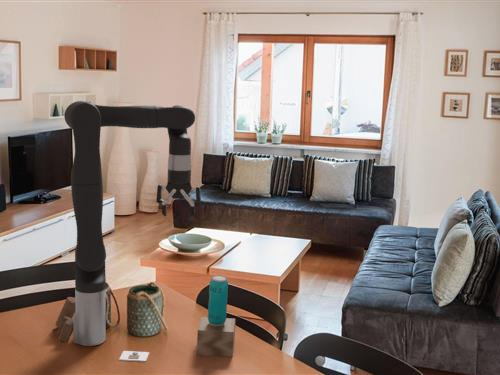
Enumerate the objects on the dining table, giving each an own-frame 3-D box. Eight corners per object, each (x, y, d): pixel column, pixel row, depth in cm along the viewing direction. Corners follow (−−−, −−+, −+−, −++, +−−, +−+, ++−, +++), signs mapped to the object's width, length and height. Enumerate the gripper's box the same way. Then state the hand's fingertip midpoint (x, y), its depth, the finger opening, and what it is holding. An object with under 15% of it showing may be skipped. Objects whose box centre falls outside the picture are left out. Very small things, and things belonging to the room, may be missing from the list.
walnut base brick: (196, 354, 204) (197, 330, 202) (200, 340, 215) (201, 316, 213) (232, 356, 204) (233, 332, 202) (234, 342, 214) (235, 318, 213)
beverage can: (210, 319, 211) (212, 274, 209) (228, 321, 210) (230, 276, 207) (205, 325, 206) (207, 279, 203) (222, 328, 204) (225, 281, 202)
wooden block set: (69, 349, 209) (82, 322, 207) (44, 338, 208) (56, 311, 206) (85, 325, 227) (96, 300, 224) (61, 314, 226) (73, 289, 224)
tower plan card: (119, 360, 198) (119, 359, 198) (123, 351, 204) (123, 350, 204) (145, 361, 198) (145, 360, 198) (149, 353, 204) (149, 351, 203)
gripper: (155, 168, 212) (154, 218, 215) (200, 170, 211) (198, 220, 214) (159, 165, 219) (158, 213, 222) (202, 167, 219) (201, 215, 222)
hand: (178, 216), depth 218 cm, fingers open, 8 cm apart
